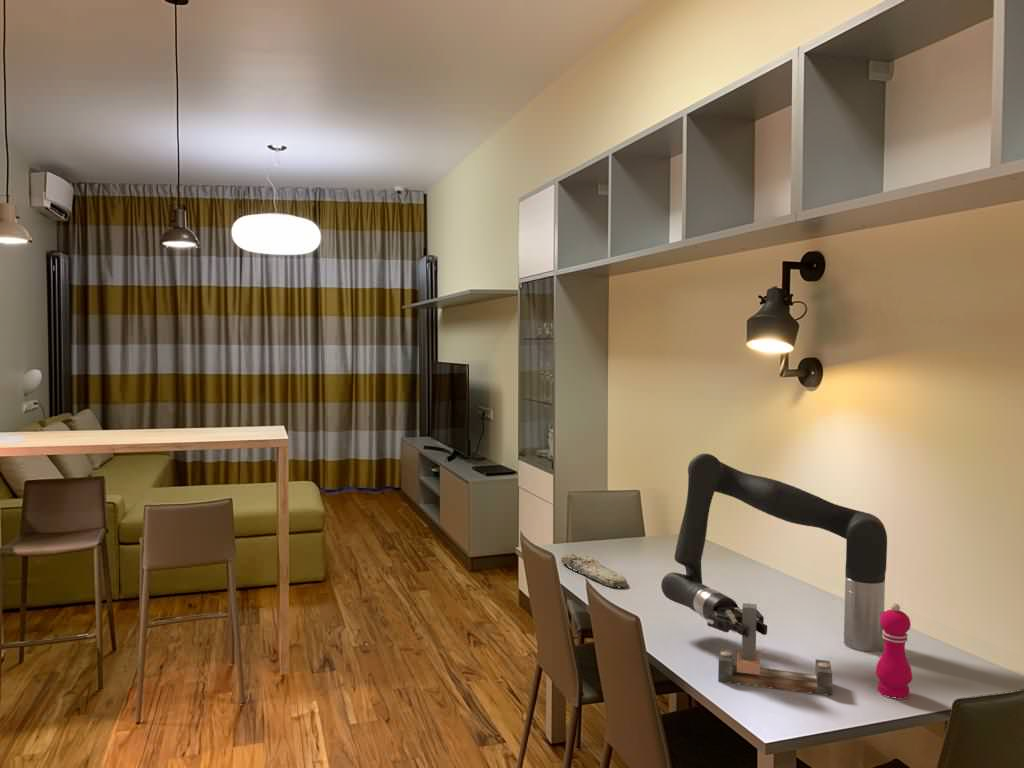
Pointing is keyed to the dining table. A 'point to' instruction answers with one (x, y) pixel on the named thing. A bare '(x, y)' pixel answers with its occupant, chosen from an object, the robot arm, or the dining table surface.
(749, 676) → the rail
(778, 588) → the dining table surface
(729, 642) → the dining table surface
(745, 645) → the carriage
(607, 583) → the long grey stone
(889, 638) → the pepper mill
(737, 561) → the dining table surface
